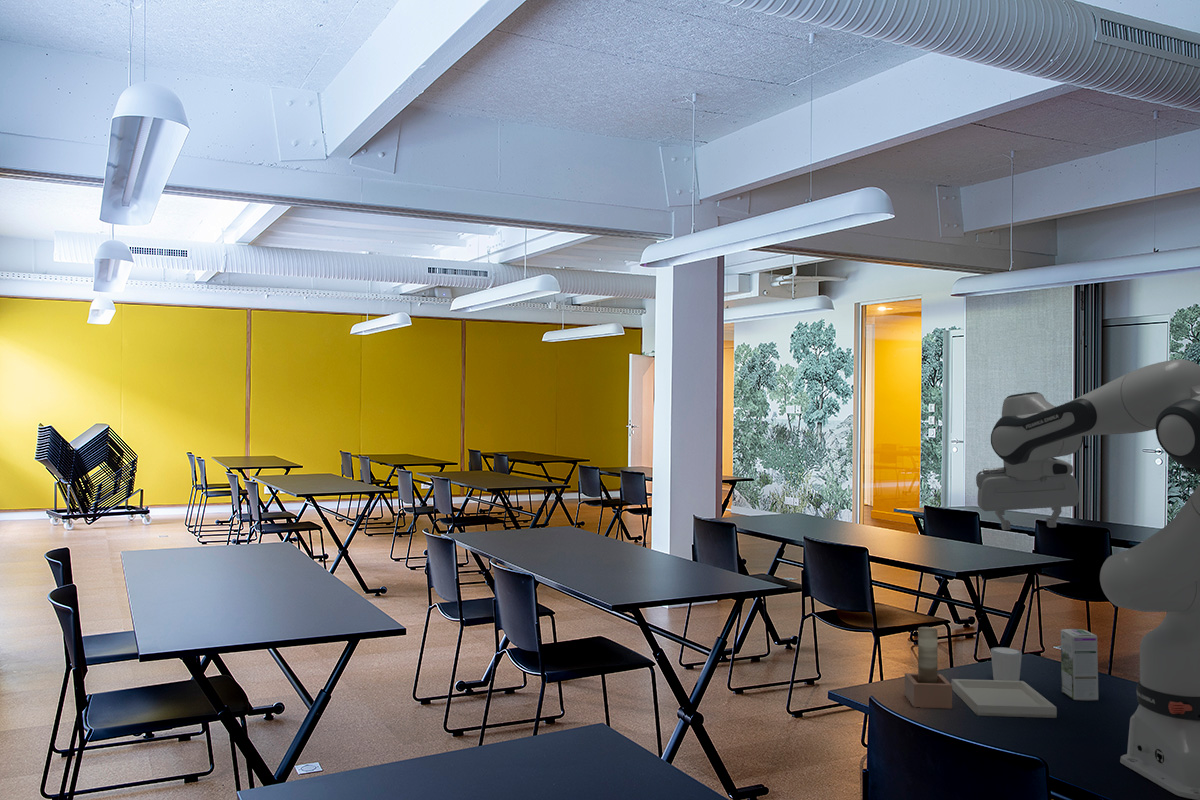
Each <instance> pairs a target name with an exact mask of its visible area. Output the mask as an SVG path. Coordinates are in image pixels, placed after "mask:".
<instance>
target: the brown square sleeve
mask: <svg viewBox="0 0 1200 800" xmlns="http://www.w3.org/2000/svg"><path fill="white" fill-rule="evenodd" d="M905 696H906V697H905ZM904 697H905V698H906V699H907V701H908V702H909V701H910V702H909V703H910V704H911V706H912V707H913V706H914V707H913V708H916V707H920V708H921V709H923V708H925V709H926V708H927V709H949V710H950V709H953V690H952V683H951V682H949V680H947V678H946V677H944V675H943V674H940V673H938V684H937V683H918V673H913V672H912V673H909V672H905V673H904Z"/></svg>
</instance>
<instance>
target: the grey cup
mask: <svg viewBox="0 0 1200 800" xmlns="http://www.w3.org/2000/svg"><path fill="white" fill-rule="evenodd" d="M990 655H991V656H990V657H991V658H990V659H991V667H992V676H993V680H1005V681H1020V676H1021V669H1022V668H1021V667H1022V657H1023V653H1022V651H1021V650H1019V649H1016V648H1011V647H1003V646H1000V647H999V646H998V647H997V646H996V647H992V648H990Z"/></svg>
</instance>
